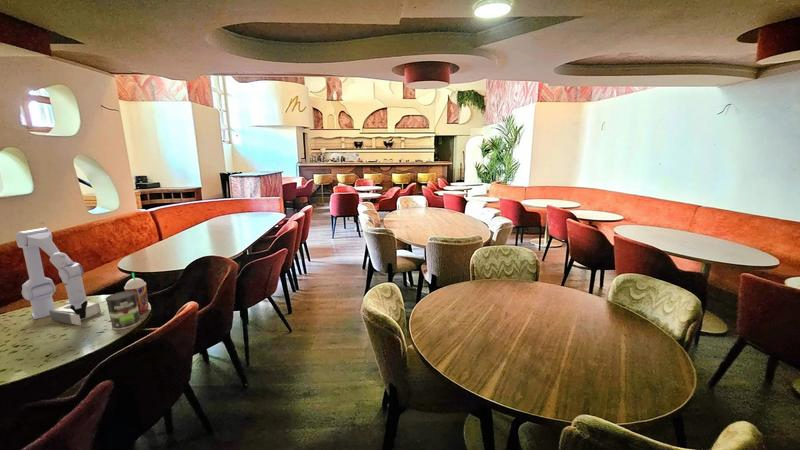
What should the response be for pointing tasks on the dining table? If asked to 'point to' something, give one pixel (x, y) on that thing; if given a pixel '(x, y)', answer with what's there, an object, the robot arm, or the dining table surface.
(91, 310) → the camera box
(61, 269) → the robot arm
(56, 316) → the side door
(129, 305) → the coffee can
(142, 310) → the smoothie
